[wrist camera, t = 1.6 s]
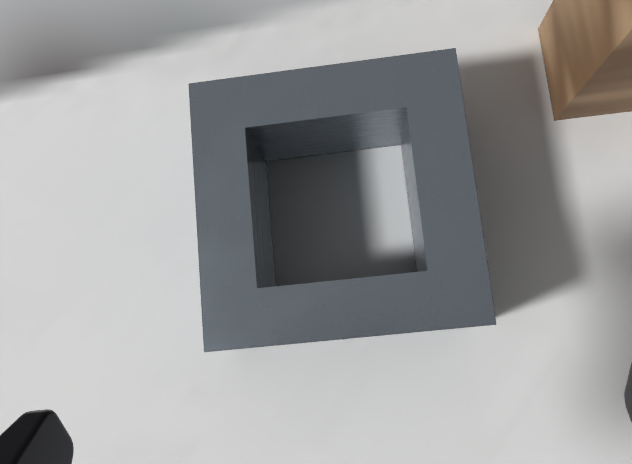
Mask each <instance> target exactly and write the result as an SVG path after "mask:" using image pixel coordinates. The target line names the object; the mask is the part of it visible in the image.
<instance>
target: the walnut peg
mask: <svg viewBox="0 0 632 464" xmlns="http://www.w3.org/2000/svg"><path fill="white" fill-rule="evenodd" d="M538 31H539V36H540V42H541V48H542V53H543V59H544V65H545V70H546V76H547V82H548V87H549V93H550V99H551V104H552V110H553V116H554V120H562V119H570V118H579V117H587V116H595V115H603V114H612V113H620V112H628V111H632V0H553V2H552V4H551V6H550V8H549V10H548V11H547V13H546V15H545V17H544V19H543V21H542V23H541V24H540V26H539V28H538Z"/></svg>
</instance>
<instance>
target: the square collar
mask: <svg viewBox="0 0 632 464" xmlns="http://www.w3.org/2000/svg"><path fill="white" fill-rule="evenodd" d="M189 98H190V115H191V133H192V150H193V167H194V185H195V202H196V219H197V237H198V254H199V272H200V289H201V306H202V324H203V341H204V352H211V351H222V350H232V349H243V348H253V347H264V346H274V345H285V344H296V343H306V342H317V341H327V340H338V339H348V338H359V337H369V336H380V335H391V334H401V333H412V332H422V331H433V330H443V329H454V328H464V327H475V326H486V325H496V319H495V312H494V305H493V299H492V292H491V285H490V278H489V272H488V265H487V258H486V251H485V244H484V238H483V231H482V224H481V217H480V211H479V204H478V197H477V190H476V184H475V177H474V170H473V163H472V157H471V150H470V143H469V136H468V129H467V123H466V116H465V109H464V102H463V96H462V89H461V82H460V75H459V69H458V62H457V55H456V48H452V49H445V50H437V51H430V52H422V53H415V54H407V55H400V56H392V57H385V58H377V59H370V60H362V61H355V62H348V63H340V64H333V65H325V66H318V67H310V68H303V69H295V70H288V71H280V72H273V73H265V74H258V75H250V76H243V77H235V78H228V79H220V80H213V81H205V82H198V83H190V84H189ZM395 145H401V147H402V155H403V163H404V170H405V178H406V186H407V194H408V202H409V210H410V218H411V226H412V234H413V242H414V250H415V258H416V266H417V272H410V273H401V274H391V275H381V276H372V277H362V278H352V279H343V280H333V281H323V282H313V283H304V284H294V285H284V286H276V279H275V266H274V254H273V242H272V229H271V217H270V205H269V192H268V180H267V168H266V161H271V160H279V159H287V158H295V157H304V156H312V155H320V154H328V153H337V152H345V151H353V150H362V149H370V148H378V147H386V146H395Z"/></svg>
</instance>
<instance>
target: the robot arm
mask: <svg viewBox="0 0 632 464" xmlns="http://www.w3.org/2000/svg"><path fill="white" fill-rule="evenodd" d="M624 398H625V404H626V408H627V411H628V414H629V417H630V419H631V422H632V364H631V368H630V372H629V376H628V380H627V384H626V388H625V393H624ZM72 458H73V442H72V439H71V437H70V436H69V434H68V432H67V431H66V429H65V427H64V426H63V424H62V422H61V421H60V419H59V418H58V416H57V414H56V413H55V412H54V411H52V410H37V411H29V412H26V413H24V414H23V415H22V416H20V417H19V418H18V419H17V420H16V421H15V422H14V423H13V424H12V425H11V426H10V427H9V428H8V429H7V430H5V431H4V432H3V433H2V434H1V435H0V464H72Z"/></svg>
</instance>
